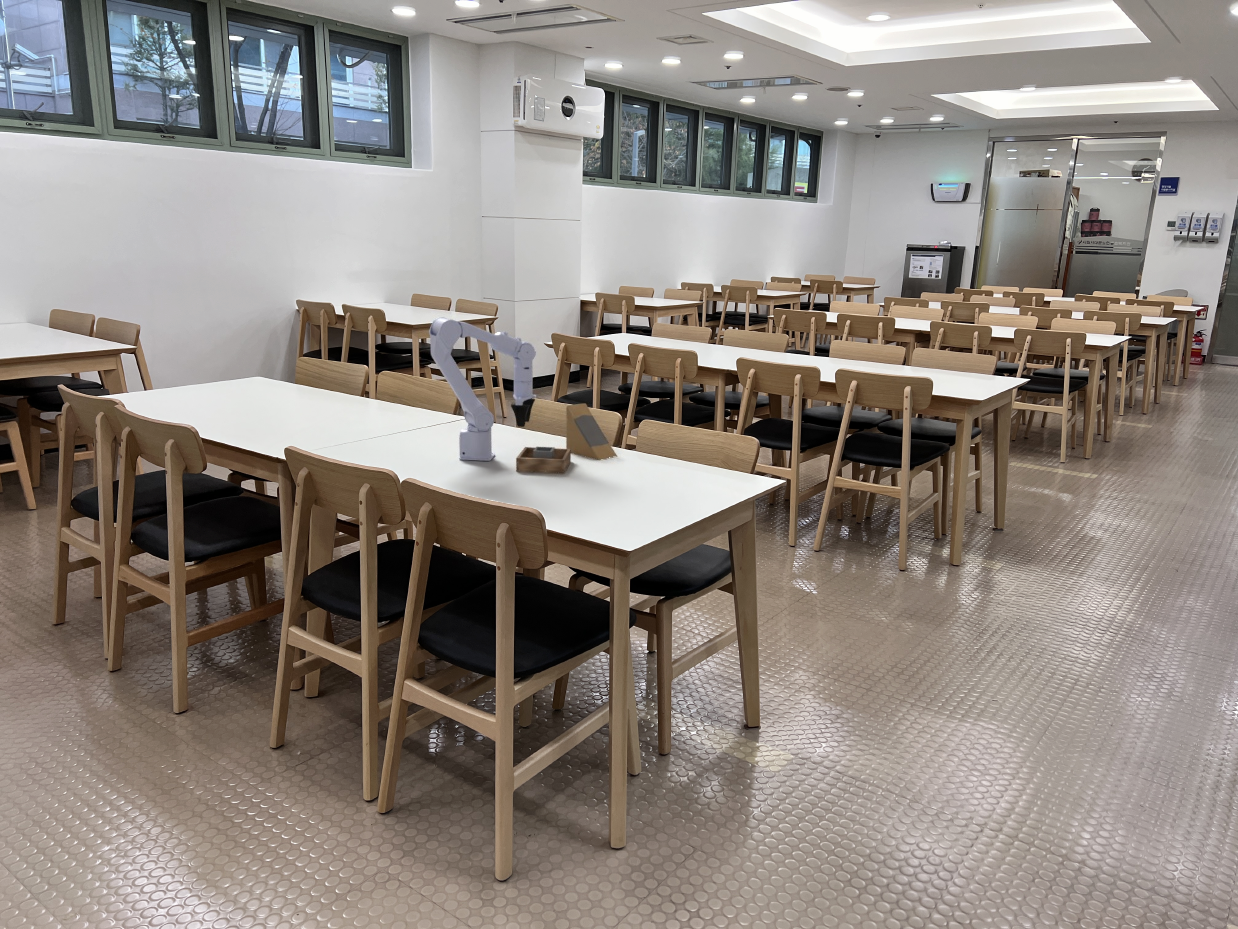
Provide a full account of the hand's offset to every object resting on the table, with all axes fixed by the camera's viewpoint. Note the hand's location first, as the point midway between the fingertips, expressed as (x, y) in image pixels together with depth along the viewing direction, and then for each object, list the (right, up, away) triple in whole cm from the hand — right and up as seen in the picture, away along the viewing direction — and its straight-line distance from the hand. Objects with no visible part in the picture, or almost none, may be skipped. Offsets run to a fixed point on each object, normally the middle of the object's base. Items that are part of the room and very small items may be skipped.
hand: (523, 424), depth 271 cm
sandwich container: (+21, -10, +4) cm, 24 cm away
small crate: (+8, -12, -13) cm, 19 cm away
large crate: (+8, -13, -13) cm, 20 cm away
